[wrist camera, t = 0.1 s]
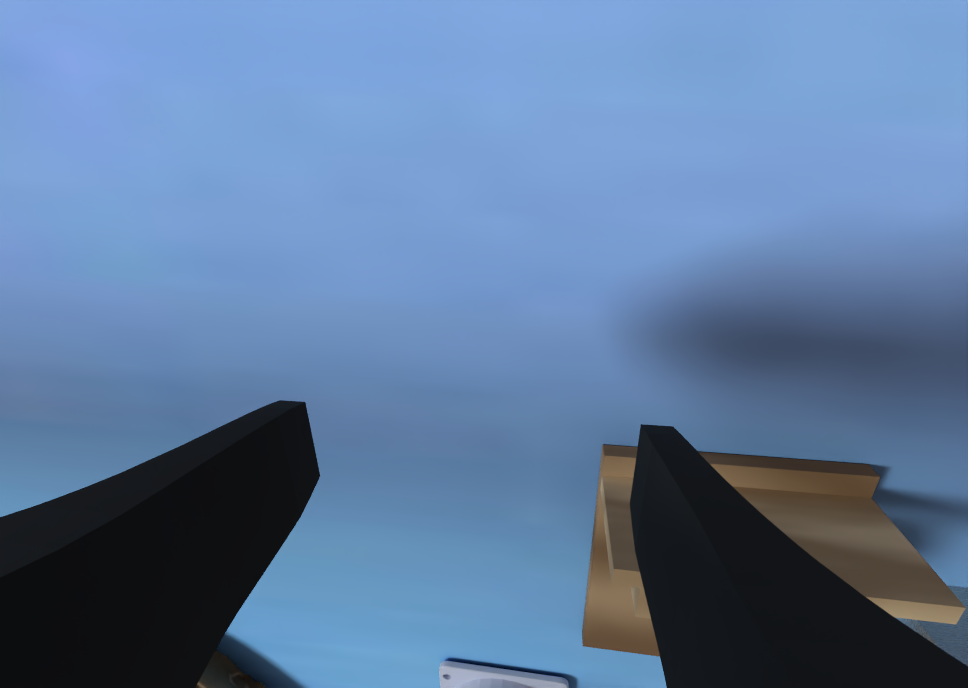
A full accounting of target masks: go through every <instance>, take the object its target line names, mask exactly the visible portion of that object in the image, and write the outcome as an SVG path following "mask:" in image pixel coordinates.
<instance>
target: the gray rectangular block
mask: <svg viewBox="0 0 968 688" xmlns="http://www.w3.org/2000/svg"><path fill="white" fill-rule="evenodd" d="M948 588H949V589H950V590H951V591H952V592H953V593H954V595H955V596H956V597H957V598H958V599H959V600H960V602H961V603H962V604H963V605H964V606H965V607H966V609H965V610H964V612H963V614H962V615H961V617H960V619H959V620H958V622H957V624H948V623H939V622H930V621H922V620H913V619H904V618H896V617H895V618H896V619H898V620H899V621H901V622H902V623H904V624H905V625H907V626H908V627H910V628H911V629H913V630H914V631H916V632H917V633H919V634H920V635H922V636H923V637H924V638H926V639H927V640H929V641H930V642H932V643H933V644H935V645H936V646H938V647H939V648H941V649H942V650H944V651H945V652H947V653H948V654H950V655H951V656H953V657H954V658H956V659H957V660H959V661H961V662H962V663H964V664H965V665H967V666H968V588H967V587H957V586H948Z"/></svg>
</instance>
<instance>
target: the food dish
mask: <svg viewBox="0 0 968 688" xmlns="http://www.w3.org/2000/svg"><path fill="white" fill-rule="evenodd" d="M195 688H266V687H265V686H264V684H262V683H260V682H258V681H253V680H252V678H251V676H249V675H246V674H244V673H243V672H241V671H240V670H239V669H238V667H237V666H236V665H235V664H234V663H233V662H232V661H231V660H230V659H229V658H228V657H227V656H226V655H224V654H222V653H220V652H218V651H216V650H215V652H214V654H213V656H212V658H211V659H210V661H209V663H208V665H207V667H206V669H205V671H204V672H203V674H202V676H201V678H200V680H199V682H198V684H197V685H196V687H195Z"/></svg>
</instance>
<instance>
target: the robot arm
mask: <svg viewBox="0 0 968 688" xmlns="http://www.w3.org/2000/svg"><path fill="white" fill-rule="evenodd" d="M319 477H320V473H319V468H318V463H317V458H316V453H315V448H314V443H313V438H312V433H311V428H310V423H309V418H308V413H307V408H306V403H305V402H296V401H281V400H280V401H277V402H274V403H272V404H269V405H266V406H264V407H262V408H259V409H257V410H255V411H253V412H251V413H248V414H246V415H244V416H242V417H240V418H238V419H236V420H234V421H231V422H229V423H227V424H225V425H223V426H221V427H219V428H217V429H215V430H213V431H211V432H209V433H207V434H204V435H202V436H200V437H198V438H196V439H194V440H192V441H190V442H188V443H186V444H184V445H182V446H179V447H177V448H175V449H173V450H171V451H168V452H166V453H164V454H162V455H160V456H157V457H155V458H153V459H151V460H148V461H146V462H144V463H142V464H140V465H137V466H135V467H133V468H131V469H128V470H126V471H124V472H122V473H119V474H117V475H115V476H112V477H110V478H107V479H105V480H102V481H100V482H97V483H95V484H92V485H90V486H88V487H85V488H82V489H80V490H77V491H74V492H72V493H69V494H66V495H64V496H61V497H58V498H56V499H53V500H50V501H48V502H45V503H42V504H39V505H36V506H34V507H31V508H27V509H24V510H21V511H18V512H15V513H12V514H9V515H6V516H3V517H0V688H195V687H196V685H197V684H198V682H199V680H200V678H201V676H202V674H203V672H204V671H205V669H206V667H207V665H208V663H209V661H210V659H211V658H212V656H213V654H214V652H215V650H216V648H217V646H218V645H219V643H220V641H221V639H222V637H223V635H224V634H225V632H226V631H227V629H228V627H229V626H230V624H231V622H232V621H233V619H234V617H235V616H236V614H237V613H238V611H239V610H240V608H241V607H242V605H243V603H244V602H245V600H246V599H247V597H248V596H249V594H250V593H251V591H252V590H253V588H254V587H255V585H256V584H257V582H258V581H259V579H260V578H261V576H262V575H263V573H264V572H265V570H266V569H267V567H268V566H269V564H270V563H271V561H272V560H273V558H274V557H275V555H276V554H277V552H278V551H279V549H280V548H281V546H282V545H283V543H284V542H285V540H286V539H287V537H288V535H289V534H290V532H291V531H292V529H293V528H294V526H295V525H296V523H297V521H298V520H299V518H300V517H301V515H302V513H303V511H304V509H305V507H306V505H307V503H308V501H309V499H310V497H311V495H312V492H313V490H314V488H315V486H316V484H317V482H318V479H319ZM630 512H631V521H632V531H633V539H634V547H635V553H636V557H637V562H638V566H639V570H640V575H641V579H642V583H643V587H644V592H645V596H646V600H647V604H648V608H649V612H650V617H651V621H652V625H653V629H654V633H655V637H656V641H657V646H658V650H659V654H660V658H661V662H662V666H663V671H664V676H665V681H666V686H667V688H968V666H967V665H965V664H964V663H962V662H961V661H959V660H957V659H956V658H954V657H953V656H951V655H950V654H948V653H947V652H945V651H944V650H942V649H941V648H939V647H938V646H936V645H935V644H933V643H932V642H930V641H929V640H927V639H926V638H924V637H923V636H922V635H920V634H919V633H917V632H916V631H914V630H913V629H911V628H910V627H908V626H907V625H905V624H904V623H902V622H901V621H899V620H898V619H896V618H895V617H893V616H892V615H890V614H889V613H888V612H886V611H885V610H883V609H882V608H881V607H879V606H878V605H876V604H875V603H873V602H872V601H871V600H869V599H868V598H866V597H865V596H864V595H862V594H861V593H860V592H858V591H857V590H856V589H854V588H853V587H852V586H850V585H849V584H848V583H846V582H845V581H844V580H842V579H841V578H840V577H839V576H837V575H836V574H835V573H833V572H832V571H831V570H829V569H828V568H827V567H825V566H824V565H823V564H821V563H820V562H819V561H817V560H816V559H815V558H814V557H812V556H811V555H810V554H809V553H807V552H806V551H805V550H804V549H802V548H801V547H800V546H799V545H798V544H796V543H795V542H794V541H793V540H792V539H790V538H789V537H788V536H787V535H786V534H785V533H784V532H782V531H781V530H780V529H779V528H778V527H777V526H775V525H774V524H773V523H772V522H771V521H770V520H768V519H767V518H766V517H765V516H764V515H763V514H762V513H760V512H759V511H758V510H757V509H756V508H755V507H754V506H753V505H752V504H751V503H750V502H748V501H747V500H746V499H745V498H744V497H743V496H742V495H741V494H740V493H739V492H738V491H737V490H736V489H735V488H734V487H733V486H732V485H730V484H729V483H728V482H727V481H726V480H725V479H724V478H723V477H722V476H721V475H720V474H719V473H718V472H717V471H716V470H715V469H714V468H713V467H712V466H711V465H710V464H709V463H708V462H707V461H706V460H705V459H704V458H703V457H702V456H701V455H700V454H699V453H698V452H697V451H696V449H695V448H694V447H693V446H692V445H691V444H690V443H689V442H688V441H687V440H686V439H685V438H684V437H683V436H682V435H681V434H680V433H679V432H678V431H677V430H676V429H675V428H674V427H672V426H657V425H642V424H641V428H640V435H639V442H638V449H637V456H636V463H635V470H634V477H633V484H632V491H631V497H630ZM439 676H440V687H441V688H569V683H568V681H567V680H566V679H565V678H562V677H556V676H549V675H542V674H535V673H528V672H521V671H514V670H507V669H500V668H494V667H487V666H480V665H473V664H466V663H459V662H452V661H443V662H441V663H440V668H439Z"/></svg>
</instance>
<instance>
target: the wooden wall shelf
mask: <svg viewBox="0 0 968 688" xmlns="http://www.w3.org/2000/svg"><path fill="white" fill-rule="evenodd" d="M637 449H638V447H628V446H614V445H603V446H602V455H601V464H600V473H599V482H598V492H597V501H596V510H595V519H594V528H593V538H592V547H591V556H590V565H589V574H588V583H587V593H586V602H585V611H584V620H583V629H582V639H583V646H586V647H593V648H601V649H608V650H616V651H623V652H631V653H638V654H646V655H653V656H660V654H659V650H658V646H657V641H656V637H655V633H654V629H653V625H652V621H651V617H650V612H649V608H648V604H647V600H646V596H645V592H644V587H643V583H642V579H641V575H640V570H639V566H638V562H637V557H636V553H635V547H634V539H633V531H632V521H631V512H630V497H631V491H632V484H633V477H634V470H635V463H636V456H637ZM698 453H699V454H700V455H701V456H702V457H703V458H704V459H705V460H706V461H707V462H708V463H709V464H710V465H711V466H712V467H713V468H714V469H715V470H716V471H717V472H718V473H719V474H720V475H721V476H722V477H723V478H724V479H725V480H726V481H727V482H728V483H729V484H730V485H732V486H733V487H734V488H735V489H736V490H737V491H738V492H739V493H740V494H741V495H742V496H743V497H744V498H745V499H746V500H747V501H748V502H750V503H751V504H752V505H753V506H754V507H755V508H756V509H757V510H758V511H759V512H760V513H762V514H763V515H764V516H765V517H766V518H767V519H768V520H770V521H771V522H772V523H773V524H774V525H775V526H777V527H778V528H779V529H780V530H781V531H782V532H784V533H785V534H786V535H787V536H788V537H789V538H790V539H792V540H793V541H794V542H795V543H796V544H798V545H799V546H800V547H801V548H802V549H804V550H805V551H806V552H807V553H809V554H810V555H811V556H812V557H814V558H815V559H816V560H817V561H819V562H820V563H821V564H823V565H824V566H825V567H827V568H828V569H829V570H831V571H832V572H833V573H835V574H836V575H837V576H839V577H840V578H841V579H842V580H844V581H845V582H846V583H848V584H849V585H850V586H852V587H853V588H854V589H856V590H857V591H858V592H860V593H861V594H862V595H864V596H865V597H866V598H868V599H869V600H871V601H872V602H873V603H875V604H876V605H878V606H879V607H881V608H882V609H883V610H885V611H886V612H888V613H889V614H890V615H892V616H893V617H896V618H904V619H913V620H922V621H930V622H939V623H948V624H957V622H958V620H959V619H960V617H961V615H962V614H963V612H964V610H965V609H966V607H965V606H964V605H963V604H962V603H961V602H960V600H959V599H958V598H957V597H956V596H955V595H954V593H953V592H952V591H951V590H950V589H949V588H948V586H947V585H946V584H945V583H944V582H943V581H942V579H941V578H940V577H939V576H938V575H937V574H936V572H935V571H934V570H933V569H932V568H931V567H930V565H929V564H928V563H927V562H926V561H925V560H924V558H923V557H922V556H921V555H920V554H919V553H918V551H917V550H916V549H915V548H914V547H913V546H912V544H911V543H910V542H909V541H908V540H907V539H906V537H905V536H904V535H903V534H902V533H901V532H900V530H899V529H898V528H897V527H896V526H895V525H894V524H893V522H892V521H891V520H890V519H889V518H888V517H887V515H886V514H885V513H884V512H883V511H882V510H881V508H880V507H879V506H878V505H877V504H876V503H875V501H874V500H873V499H872V496H873V493H874V491H875V489H876V486H877V484H878V481H879V479H880V476H879V475H878V474H877V473H876V472H875V471H874V470H873V469H872V468H871V467H870V465H869V464H855V463H842V462H829V461H815V460H802V459H788V458H775V457H762V456H748V455H735V454H721V453H708V452H698Z"/></svg>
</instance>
